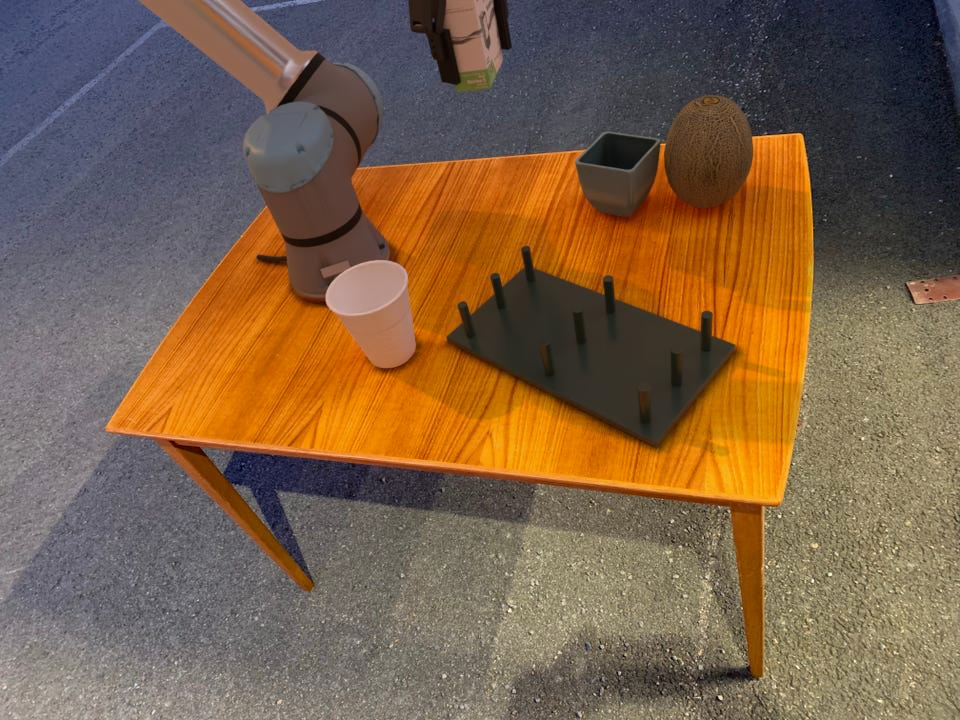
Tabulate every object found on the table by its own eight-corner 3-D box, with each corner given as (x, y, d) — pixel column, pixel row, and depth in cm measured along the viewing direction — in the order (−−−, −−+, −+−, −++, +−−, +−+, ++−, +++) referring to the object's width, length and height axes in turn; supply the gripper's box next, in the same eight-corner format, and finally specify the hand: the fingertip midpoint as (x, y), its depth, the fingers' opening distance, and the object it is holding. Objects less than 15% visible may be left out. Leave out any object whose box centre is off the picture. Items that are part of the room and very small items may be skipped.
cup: (342, 354, 90) (311, 289, 82) (405, 315, 93) (380, 249, 85) (379, 394, 83) (349, 328, 76) (446, 350, 86) (423, 282, 79)
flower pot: (608, 184, 105) (604, 129, 98) (663, 194, 100) (662, 137, 94) (579, 217, 100) (572, 161, 94) (635, 229, 96) (632, 172, 89)
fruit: (751, 223, 92) (760, 117, 81) (663, 226, 95) (661, 125, 84) (747, 175, 99) (755, 73, 89) (666, 180, 102) (664, 82, 92)
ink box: (491, 90, 87) (472, -10, 79) (454, 93, 89) (432, -4, 81) (504, 60, 93) (488, -36, 85) (469, 64, 94) (450, -30, 86)
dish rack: (447, 342, 87) (436, 307, 83) (527, 270, 94) (520, 234, 90) (656, 448, 70) (655, 410, 66) (735, 350, 77) (738, 310, 73)
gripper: (386, -109, 67) (440, 109, 83) (527, -175, 77) (552, 31, 93) (338, -108, 71) (398, 99, 87) (477, -170, 81) (509, 26, 97)
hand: (477, 64), depth 90 cm, fingers closed on ink box, 9 cm apart
